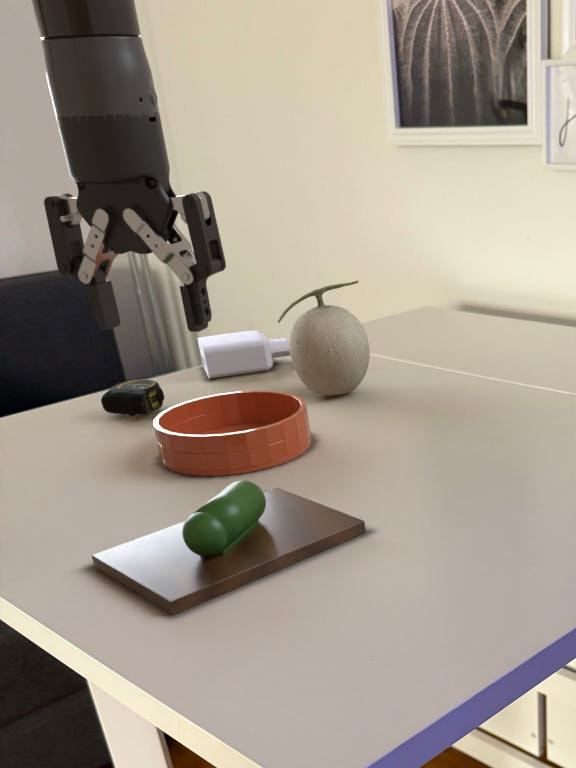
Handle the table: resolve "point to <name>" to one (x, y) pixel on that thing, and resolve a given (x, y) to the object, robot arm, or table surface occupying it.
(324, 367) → the fruit
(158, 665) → the table surface
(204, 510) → the cucumber
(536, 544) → the table surface
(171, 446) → the bowl
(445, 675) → the table surface
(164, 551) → the board
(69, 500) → the table surface
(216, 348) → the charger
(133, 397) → the tape measure
